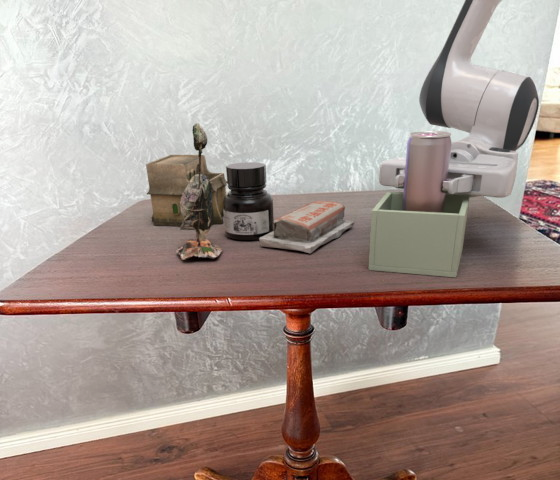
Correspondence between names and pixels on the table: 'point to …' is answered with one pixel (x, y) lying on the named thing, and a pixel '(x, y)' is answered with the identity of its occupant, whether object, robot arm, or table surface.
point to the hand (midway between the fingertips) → (422, 185)
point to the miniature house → (180, 188)
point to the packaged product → (308, 227)
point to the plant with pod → (198, 207)
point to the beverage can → (426, 171)
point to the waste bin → (417, 237)
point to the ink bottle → (247, 202)
